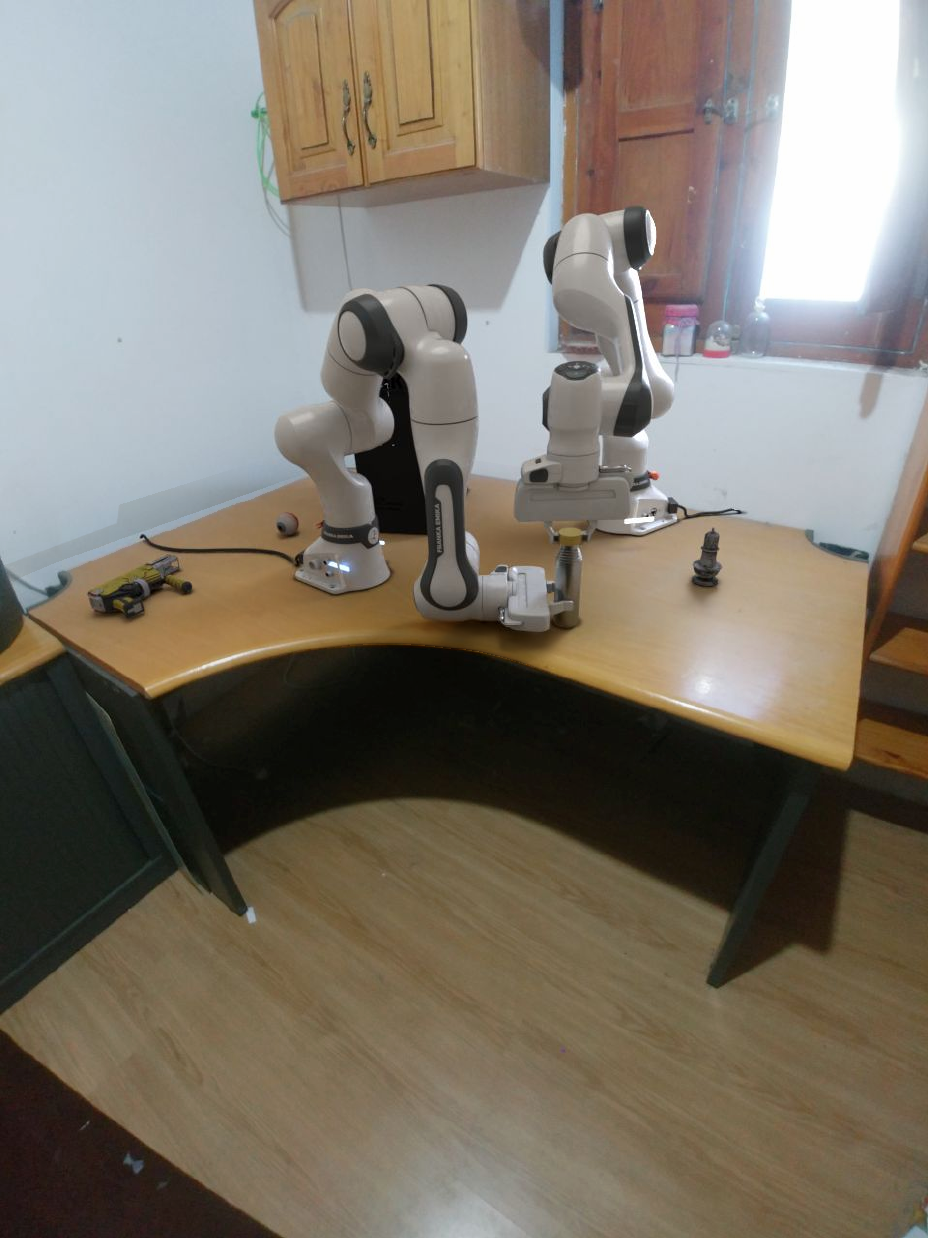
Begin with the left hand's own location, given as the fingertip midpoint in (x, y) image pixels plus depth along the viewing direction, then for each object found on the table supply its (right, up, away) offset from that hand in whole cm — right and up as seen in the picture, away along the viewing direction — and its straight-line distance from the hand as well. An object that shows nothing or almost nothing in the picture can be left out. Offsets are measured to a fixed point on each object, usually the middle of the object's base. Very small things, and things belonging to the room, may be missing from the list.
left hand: (571, 596), depth 115 cm
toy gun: (-90, +1, +22) cm, 93 cm away
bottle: (-1, -5, +3) cm, 5 cm away
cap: (-1, +11, -6) cm, 13 cm away
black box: (-33, +28, +63) cm, 77 cm away
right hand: (-1, +10, -6) cm, 11 cm away
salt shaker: (+31, +4, +14) cm, 35 cm away
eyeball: (-68, +19, +51) cm, 87 cm away
